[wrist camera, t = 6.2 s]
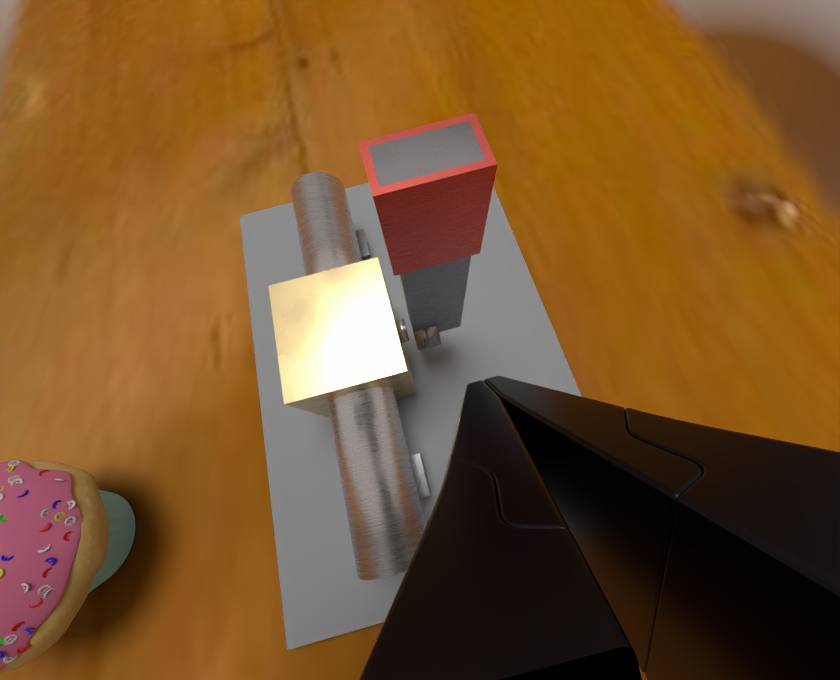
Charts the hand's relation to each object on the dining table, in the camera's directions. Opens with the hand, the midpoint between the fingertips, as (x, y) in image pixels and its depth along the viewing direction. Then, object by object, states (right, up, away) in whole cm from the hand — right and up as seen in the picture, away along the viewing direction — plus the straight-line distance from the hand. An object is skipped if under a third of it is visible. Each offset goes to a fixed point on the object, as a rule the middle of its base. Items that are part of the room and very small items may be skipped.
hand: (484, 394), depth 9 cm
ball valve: (-5, 0, +13) cm, 14 cm away
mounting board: (-3, 0, +13) cm, 13 cm away
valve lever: (-1, +2, +10) cm, 10 cm away
